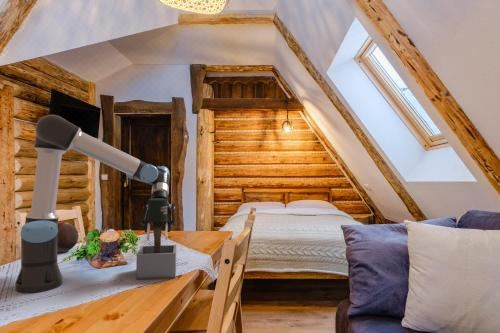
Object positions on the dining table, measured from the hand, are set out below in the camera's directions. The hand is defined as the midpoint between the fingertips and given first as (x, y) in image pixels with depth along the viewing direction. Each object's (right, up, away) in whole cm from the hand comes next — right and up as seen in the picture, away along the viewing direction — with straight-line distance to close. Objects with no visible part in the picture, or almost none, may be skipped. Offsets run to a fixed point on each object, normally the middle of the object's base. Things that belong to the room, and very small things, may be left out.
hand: (157, 238), depth 146 cm
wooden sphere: (-59, -15, +39) cm, 72 cm away
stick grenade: (-1, -15, +4) cm, 15 cm away
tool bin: (-1, -15, +4) cm, 16 cm away
